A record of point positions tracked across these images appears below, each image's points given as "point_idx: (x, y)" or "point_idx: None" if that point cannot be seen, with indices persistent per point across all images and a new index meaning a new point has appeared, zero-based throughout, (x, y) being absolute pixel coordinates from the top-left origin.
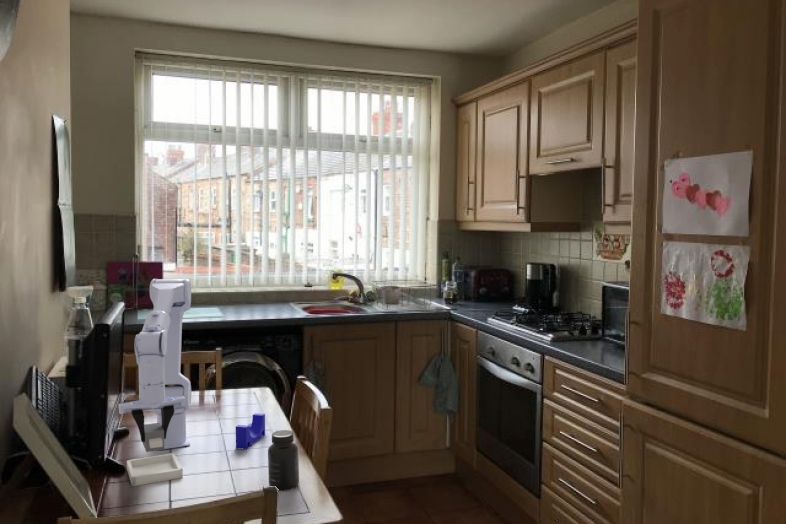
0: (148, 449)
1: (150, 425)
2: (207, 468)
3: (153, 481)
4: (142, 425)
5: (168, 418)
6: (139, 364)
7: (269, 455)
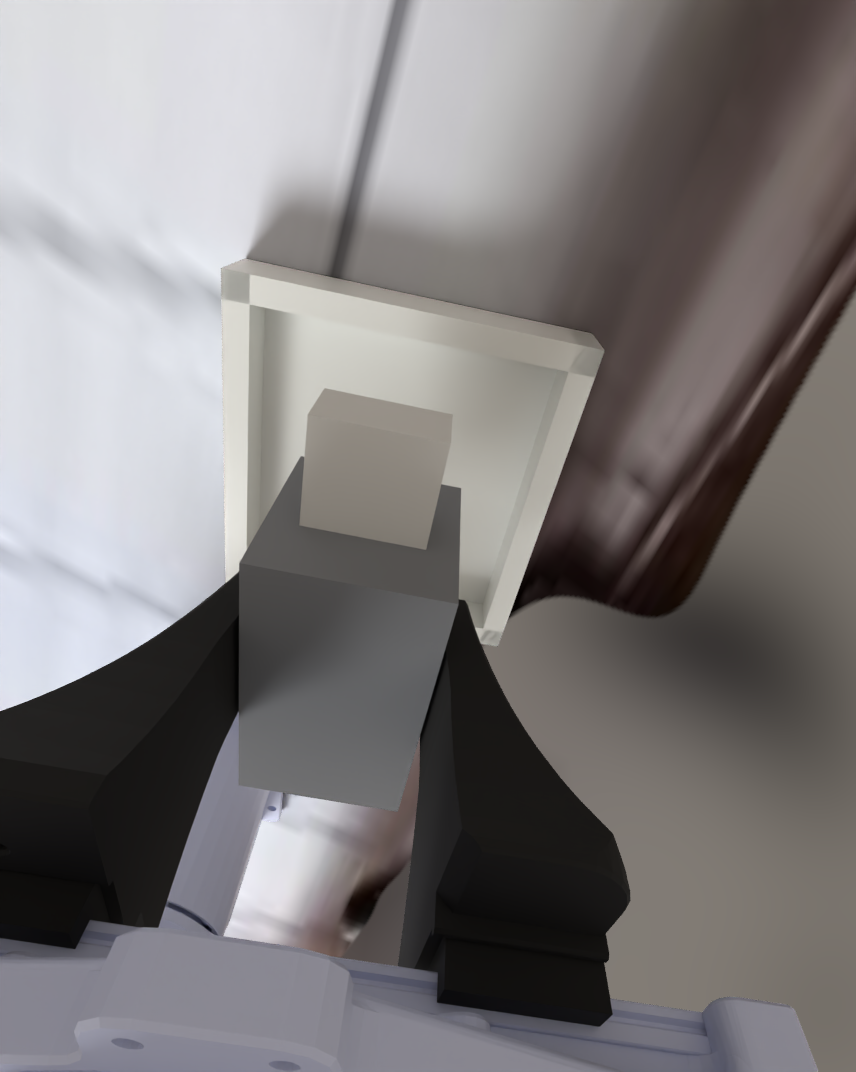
0: (439, 495)
1: (334, 769)
2: (55, 320)
3: (450, 303)
4: (471, 721)
5: (100, 694)
6: None
7: None
